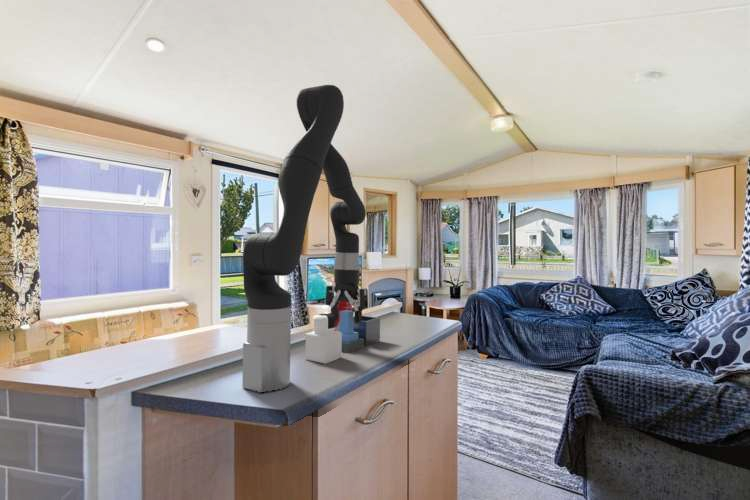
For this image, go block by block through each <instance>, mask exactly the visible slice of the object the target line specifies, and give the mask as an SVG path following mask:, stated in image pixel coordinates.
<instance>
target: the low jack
mask: <svg viewBox="0 0 750 500" xmlns="http://www.w3.org/2000/svg"><path fill="white" fill-rule="evenodd" d="M364 347H365V346H364V339H363V338H358V340H356V341H353V342H350V343H344V342H342V352H343V353H346V354H348V353H352V352H353V351H357V350H361V349H362V348H364ZM342 352H341V353H342Z"/></svg>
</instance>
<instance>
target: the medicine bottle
mask: <svg viewBox="0 0 750 500" xmlns="http://www.w3.org/2000/svg"><path fill="white" fill-rule="evenodd" d="M334 330H335V316H334V315H332V314H331V313H319V314H318V313H317V314H316V315H313V316H312V331H310V332H307V333H305V347H304V348H305V355H304V356H305V360H306V361H311V362H316V363H320V364H324V365H326V364H329V363H331V362H333V361H336V360H338V359H341V358H342V332H338V331H334Z"/></svg>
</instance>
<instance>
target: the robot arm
mask: <svg viewBox="0 0 750 500" xmlns="http://www.w3.org/2000/svg"><path fill="white" fill-rule="evenodd" d="M295 101H296V109H297V113H298V116H299V119H300V122H301V123H302V125H303V128H304V130H305V133H304V134H303V135H302V136H301V137H300V138H299V139H298V140H297V141H296V142H295V143H294V144H293V146H291V147H290V149H289V150H288V151H287V153H286V155H285V156H284V159H283V162H282V165H281V168H280V171H279V174H278V179H277V186H278V190H279V194H280V196H281V200H282V204H283V214H282V220H281V223H280V225H279V228H278V231H277V232H257V233H253V234H251V235H250V236H249V237H248V238H247V240H246V241H245V243H244V247H243V253H242V270H243V271H242V272H243V290H244V294H245V297H246V300H247V320H246V323H247V325H246V326H247V327H246V328H247V329H246V342H243V344H242V385H241V386H242V388H244V389H247V390H249V391H253V392H256V391H257V392H256V393H259V392H260V393H259V394H262V393H261V392H264V393H266V392H265V391H268V392H273V391H272V390H275V391H279V390H278V389H280V390H282V388H283V389H285V388H287V387H288V386H289V385H290V383H291V335H292V332H291V331H292V330H291V329H292V327H291V326H292V295H291V293H290V292H289V291H288V290H286V289H284V288H283V287H281V285H279V283H278V282H277V280H276V276H278V277H279V276H280V277H283V276H284V277H285V276H289V275H291V274H292V273H294V271H295V270H296V268H297V267H298V265H299V261H300V259H301V255H302V250H303V246H304V241H305V234H306V230H307V225H308V220H309V216H310V212H311V208H312V205H313V201H314V198H315V194H316V191H317V189H318V186H319V182H320V179H321V175H322V173H323V174H324V176H325V180H326V181H325V182H326V184H327V186H328V191H329V194H330V195H331V197H333V198H336V199H338V200H342V201H336V202H334V203H333V204H332V206H331V208H330V210H329V212H330V213H329V215H330V216H329V217H330V220H331V224H332V227H333V234H334V239H335V255H334V265H333V266H334V272H333V274H334V275H333V282H334V284H335V285H326V288H325V289H326V291H325V305H326V306H328V307H330V314H332V315H334V316H335V320H337V319H338V307H337V306H338V305H339V303H340V302H341V301H346V302H350V303H351V305H352V308H354V310H355V311H354V323H355V324H358V323H360V322H361V320H362V316H363V310H365V309H366V310H367V309H368V308H369V296H368V295H369V292H368V288H366V287H365V288H359V283H360V237H359V235H358V234H357V233H355V232H351V231H348V230H347V229H348V228H347V227H346V226H349V225H350V226H354V225H355V226H356V225H357V226H358V225H361V224H362V223H364V221H365V219H366V214H367V213H366V211H367V210H366V208H365V205H364V202H363V201H362V200H361V199H362V198H360V196H359V194H358V192H357V191H356V188H355V186H354V185H353V181H352V177H351V172H350V169H349V166H348V164H347V162H346V160H345V159H344V157H343V156H342V155H341V154H340V152H339V150H337V149H336V148H335V147H334V145H333V144H332V141H333V138H334V136H335V133H336V131H337V130H338V127H339V126H340V122H341V119H342V117H343V113H344V107H345V106H344V105H345V102H344V101H345V100H344V95H343V92H342V91H341V89H340V88H339V87H338V86H336V85H333V84H323V85H318V86H317V85H316V86H313V87H307V88H303V89H301V90H300V91H298V93H297V95H296V100H295ZM358 295H359V296H358Z"/></svg>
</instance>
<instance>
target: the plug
mask: <svg viewBox="0 0 750 500" xmlns="http://www.w3.org/2000/svg"><path fill="white" fill-rule="evenodd" d="M354 316H355V311H354V310H352V311H348V310H343V311H340V332H342V342H344V343H350V342H353V341H356V340H358V332H353V318H354Z"/></svg>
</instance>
